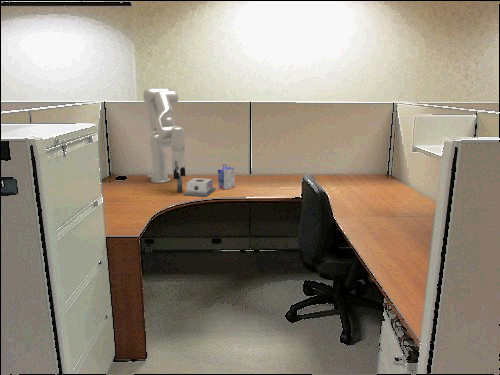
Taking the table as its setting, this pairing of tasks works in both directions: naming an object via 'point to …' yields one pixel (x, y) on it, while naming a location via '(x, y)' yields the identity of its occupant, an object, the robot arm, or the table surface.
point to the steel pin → (179, 184)
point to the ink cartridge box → (226, 177)
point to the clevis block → (199, 187)
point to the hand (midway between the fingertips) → (179, 177)
